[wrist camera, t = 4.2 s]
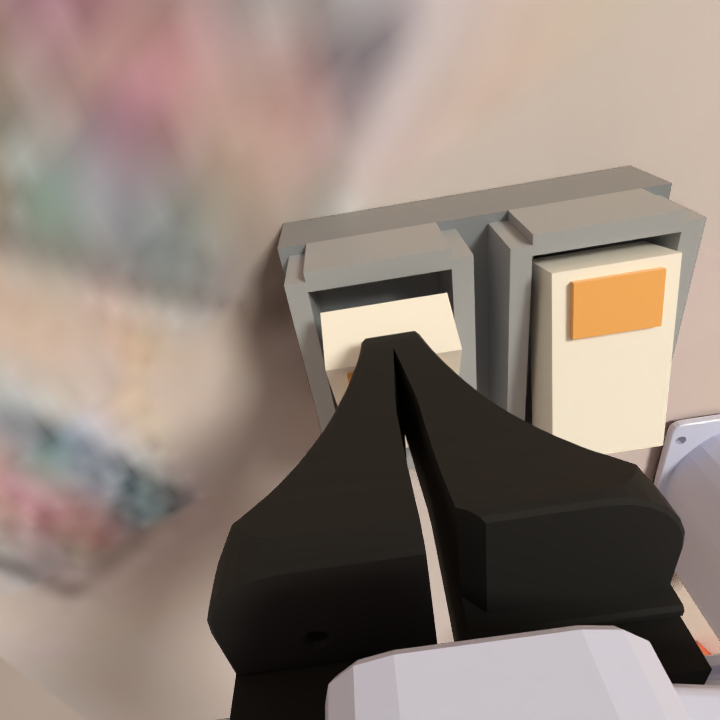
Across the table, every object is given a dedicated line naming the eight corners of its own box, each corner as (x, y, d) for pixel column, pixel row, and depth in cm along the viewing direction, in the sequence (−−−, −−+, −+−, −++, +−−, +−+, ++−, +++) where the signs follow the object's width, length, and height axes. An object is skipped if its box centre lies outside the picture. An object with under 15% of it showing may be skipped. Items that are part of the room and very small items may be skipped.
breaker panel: (602, 359, 21) (663, 431, 17) (326, 402, 22) (326, 481, 18) (631, 165, 17) (720, 203, 13) (283, 223, 17) (270, 277, 13)
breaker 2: (632, 416, 17) (666, 449, 15) (532, 431, 17) (555, 465, 15) (643, 240, 15) (687, 253, 13) (528, 259, 15) (555, 275, 13)
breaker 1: (440, 395, 18) (452, 446, 17) (349, 409, 18) (355, 460, 17) (447, 292, 13) (463, 356, 12) (320, 312, 13) (326, 377, 12)
